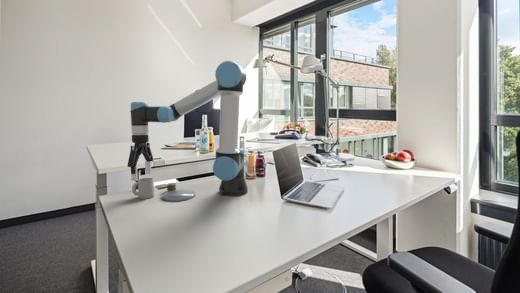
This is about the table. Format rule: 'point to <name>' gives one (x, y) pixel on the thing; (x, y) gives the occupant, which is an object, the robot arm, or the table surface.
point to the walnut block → (171, 187)
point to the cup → (144, 188)
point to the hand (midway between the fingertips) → (141, 177)
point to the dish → (178, 195)
